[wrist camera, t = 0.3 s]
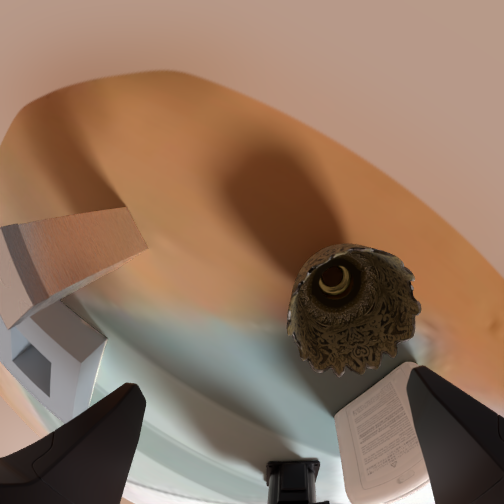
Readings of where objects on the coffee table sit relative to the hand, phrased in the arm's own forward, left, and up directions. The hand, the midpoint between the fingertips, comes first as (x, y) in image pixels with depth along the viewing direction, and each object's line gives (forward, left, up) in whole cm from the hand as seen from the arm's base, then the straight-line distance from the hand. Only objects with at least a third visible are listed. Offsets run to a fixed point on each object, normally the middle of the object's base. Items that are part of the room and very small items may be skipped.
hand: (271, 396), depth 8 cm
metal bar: (+3, +13, -14) cm, 19 cm away
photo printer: (-13, -10, -14) cm, 22 cm away
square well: (-9, +26, -14) cm, 31 cm away
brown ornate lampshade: (0, -4, -14) cm, 15 cm away
